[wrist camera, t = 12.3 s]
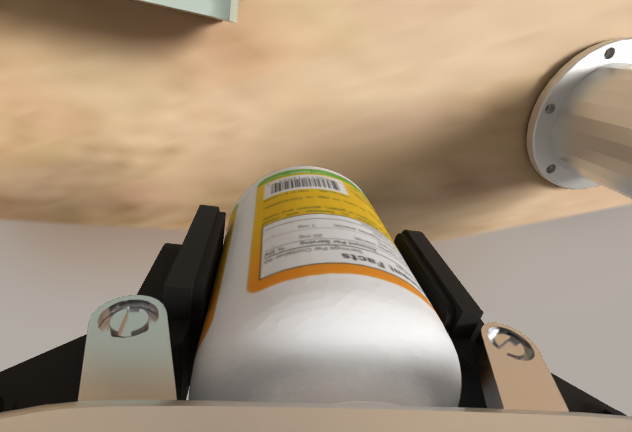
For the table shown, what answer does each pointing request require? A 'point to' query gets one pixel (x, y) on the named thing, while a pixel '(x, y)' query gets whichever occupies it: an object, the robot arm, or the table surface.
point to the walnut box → (176, 9)
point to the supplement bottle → (319, 305)
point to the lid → (204, 7)
